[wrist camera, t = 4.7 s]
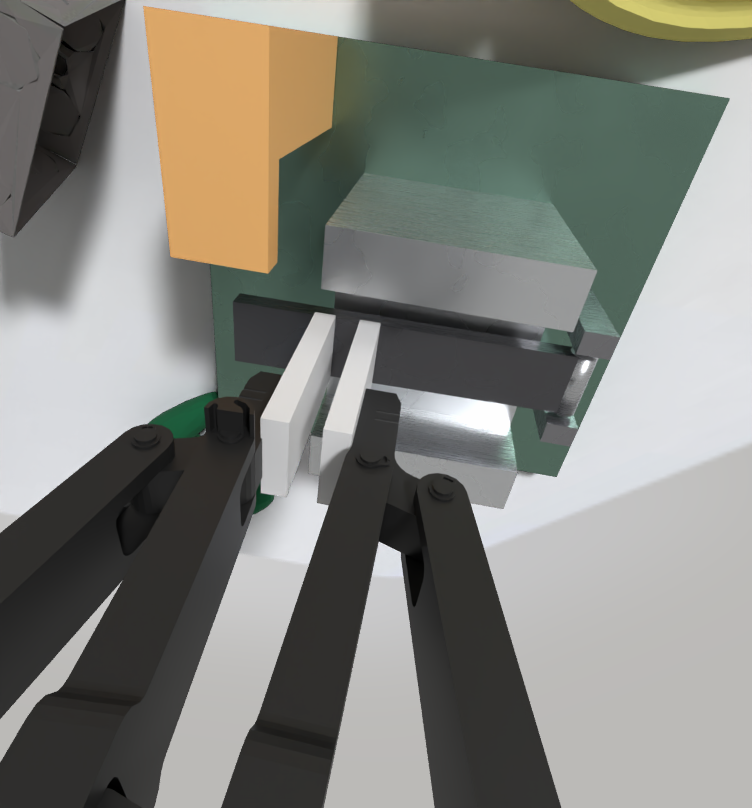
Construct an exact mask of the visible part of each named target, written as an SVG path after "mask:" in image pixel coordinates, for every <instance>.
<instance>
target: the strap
mask: <svg viewBox="0 0 752 808" xmlns="http://www.w3.org/2000/svg"><path fill="white" fill-rule="evenodd" d="M315 312H319V313H325V314H331V315H336V319H335V330H334V342H333V353H332V364H331V375H330V376H332V377H338V378H341V375H342V372H343V369H344V366H345V363H346V360H347V357H348V354H349V351H350V348H351V345H352V342H353V339H354V336H355V333H356V330H357V327H358V324H359V321H360V320H366V321H371V322H377V323H381V325H380V332H379V338H378V345H377V352H376V359H375V366H374V373H373V379H372V383H375V384H381V385H388V386H394V387H400V388H406V389H412V390H418V391H425V392H431V393H437V394H443V395H449V396H455V397H461V398H468V399H474V400H480V401H486V402H492V403H498V404H505V405H511V406H517V407H523V408H529V409H535V410H542V411H548V412H554V413H555V414H557V415H560V416H563V417H571V416H573V415H574V413H575V411H576V408H577V406H578V404H579V401H580V399H581V397H582V395H583V392H584V390H585V388H586V386H587V383H588V381H589V379H590V377H591V374H592V372H593V370H594V368H595V365H596V363H597V361H598V359H599V358H595V357H589V356H583V355H577V354H576V353H575V351H574V349H573V347H571V346H564V345H558V344H552V343H546V342H540V341H533V340H527V339H521V338H515V337H509V336H502V335H496V334H490V333H484V332H478V331H471V330H465V329H459V328H453V327H447V326H440V325H434V324H428V323H422V322H416V321H409V320H403V319H397V318H391V317H385V316H378V315H372V314H366V313H360V312H354V311H347V310H341V309H335V308H329V307H323V306H316V305H310V304H304V303H298V302H292V301H285V300H279V299H273V298H267V297H261V296H254V295H248V294H242V293H239V295H238V296H237V297H236V298H235V300H234V301H233V322H234V348H235V361H240V362H246V363H252V364H258V365H264V366H270V367H277V368H283V369H286V368H287V366H288V364H289V362H290V360H291V358H292V356H293V354H294V352H295V350H296V348H297V346H298V344H299V343H300V341H301V339H302V337H303V335H304V333H305V331H306V329H307V327H308V325H309V323H310V321H311V319H312V317H313V315H314V314H315Z"/></svg>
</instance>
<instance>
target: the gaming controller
mask: <svg viewBox="0 0 752 808" xmlns="http://www.w3.org/2000/svg"><path fill="white" fill-rule="evenodd" d="M217 398H218V393H217V392H211V393H207V394H203V395H201V396H198V397H195V398H193V399H190V400H188V401H185V402H183V403H181V404H179V405H177V406H175V407H173V408H171V409H169V410H167V411H165V412H163V413H162V414H160V415H159V416H157V417H156V418H154V419H153V420H152V421H150V422H149V423H148V424H156V425H162V426H164V427H166V428H168V429H170V431H171V432H172V434H173V438H193V437H200V435H199V433H200V432H201V431H202V430H203V429H205V428H206V426H205V415H204V407H205V406H206V405H207V404H208V403H209V402H210V401H213V400H215V399H217ZM273 499H274V495H270V494H264V493H261V481H260V484H259V486H258V488H257V490H256V506H255V509H254V512H253V514H256V513H258V512H259V511H261V510H263V509H264V508H266V507H267V506H268V505H269V504H270V503H271V502H272V501H273Z"/></svg>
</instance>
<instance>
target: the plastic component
mask: <svg viewBox="0 0 752 808" xmlns="http://www.w3.org/2000/svg"><path fill="white" fill-rule="evenodd" d="M570 1H571V2H573V3H574V4H575V5H576V6H578V7H579V8H580V9H582V10H584V11H585V12H587V13H589V14H590V15H592V16H594V17H596V18H597V19H599V20H601V21H603V22H606V23H608V24H610V25H613V26H615V27H618V28H620V29H622V30H625V31H629V32H632V33H636V34H640V35H643V36H647V37H652V38H659V39H666V40H674V41H681V42H720V41H731V40H743V39H751V38H752V0H570Z"/></svg>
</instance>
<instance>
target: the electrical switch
mask: <svg viewBox="0 0 752 808" xmlns="http://www.w3.org/2000/svg"><path fill="white" fill-rule="evenodd" d="M124 1H125V0H0V232H2V233H4V234H7V235H9V236H11V237H15V236H16V235H17V233H18V232H19V231H20V230H21V229H22V228H23V227H24V225H25V224H26V223H27V222H28V221H29V220H30V219H31V217H32V216H33V215H34V214H35V213H36V212H37V211H38V210H39V208H40V207H41V206H42V205H43V204H44V203H45V202H46V200H47V199H48V198H49V197H50V196H51V195H52V194H53V192H54V191H55V190H56V189H57V188H58V187H59V186H60V184H61V183H62V182H63V181H64V180H65V179H66V178H67V177H68V175H69V174H70V173H71V172H72V171H73V170H74V169H75V167H76V165H74V164H73V163H71V162H69V161H67V160H65V159H64V158H66V159H68V160H70V161H72V162H74V163H76V164H77V162H78V159H79V155H80V152H81V148H82V145H83V141H84V138H85V135H86V131H87V128H88V124H89V121H90V117H91V114H92V111H93V107H94V104H95V100H96V97H97V94H98V90H99V87H100V83H101V80H102V76H103V73H104V70H105V66H106V63H107V59H108V56H109V52H110V49H111V46H112V42H113V39H114V35H115V32H116V28H117V25H118V22H119V18H120V15H121V11H122V8H123V5H124ZM100 22H101V23H100ZM101 25H102V27H103V29H104V32H102V27H101ZM61 39H62V40H63V41H64V42H66V43H67V44H68V45H69V46H71V47H72V48H73V49H74V50H77V51H81V52H74V51H72V50H70V49H68V48H66V47H65V46H64V45H63V44H62V43H61ZM95 46H96V47H95ZM93 47H95V49H94V51H93V52H88V51H90V50H91V49H92V48H93ZM58 54H59V55H61V56H62V57H63V58H65V59H66V63H67V68H68V69H67V71H66V73H65V75H64V76H60V75H57V74H55V73H54V69H55V64H56V60H57V56H58ZM51 82H52V83H53V84H55V85H56V86H58V87H59V88H61V89H65V90H66V92H67V94H68V95H67V94H66V93H65V92H64V91H62V90H60V89H58V88H56V87H54V86H51ZM69 97H70V98H69ZM79 116H80V119H79V121H78V117H79ZM58 134H60V135H58ZM62 135H64V136H62ZM56 154H57V155H56ZM58 155H60V156H62V157H64V158H62V157H60V156H58Z"/></svg>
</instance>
